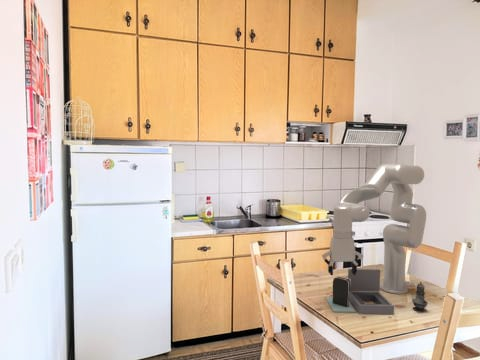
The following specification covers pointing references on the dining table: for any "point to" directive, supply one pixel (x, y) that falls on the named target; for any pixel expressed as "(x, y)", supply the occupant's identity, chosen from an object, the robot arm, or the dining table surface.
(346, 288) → the battery charger
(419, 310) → the dark grey upright piece
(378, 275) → the case
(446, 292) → the dining table surface
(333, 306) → the rubber mat
